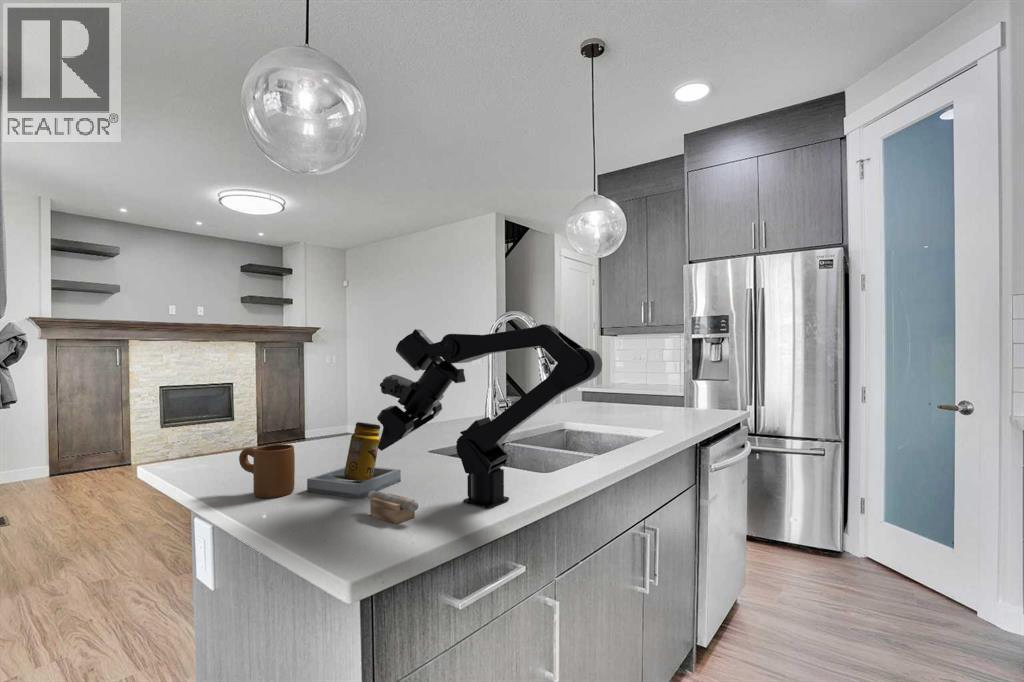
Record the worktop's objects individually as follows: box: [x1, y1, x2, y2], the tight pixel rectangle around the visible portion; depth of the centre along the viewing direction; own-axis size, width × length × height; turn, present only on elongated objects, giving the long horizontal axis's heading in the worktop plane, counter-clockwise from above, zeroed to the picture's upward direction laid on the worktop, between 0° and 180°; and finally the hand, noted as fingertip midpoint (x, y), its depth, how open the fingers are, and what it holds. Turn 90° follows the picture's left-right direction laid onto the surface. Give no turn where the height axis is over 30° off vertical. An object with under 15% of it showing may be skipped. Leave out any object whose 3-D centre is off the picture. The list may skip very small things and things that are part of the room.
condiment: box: [327, 421, 381, 482], centre depth 105 cm, size 7×8×12 cm
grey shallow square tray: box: [306, 466, 402, 499], centre depth 105 cm, size 14×14×3 cm
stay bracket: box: [367, 490, 419, 525], centre depth 85 cm, size 13×4×4 cm, turn 53°
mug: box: [238, 444, 296, 499], centre depth 101 cm, size 12×8×9 cm, turn 78°
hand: (390, 442), depth 102 cm, fingers open, 9 cm apart
